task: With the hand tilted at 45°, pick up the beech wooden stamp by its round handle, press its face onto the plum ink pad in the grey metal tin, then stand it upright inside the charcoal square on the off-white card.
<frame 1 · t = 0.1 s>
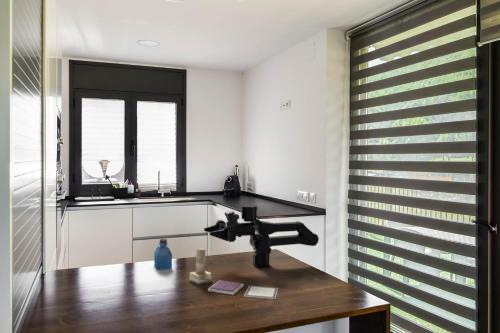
hand: (206, 231, 163), 17 cm above the table, tool horizontal, fingers open, 9 cm apart
ink pad: (226, 288, 142), on the table
marked card: (261, 292, 139), on the table
stamp: (200, 281, 150), on the table
perfume bottle: (162, 267, 167), on the table
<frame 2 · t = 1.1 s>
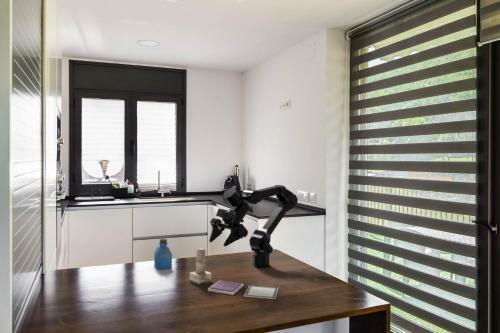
hand: (216, 243, 155), 13 cm above the table, tool tilted 45°, fingers open, 9 cm apart
nothing on the table moved.
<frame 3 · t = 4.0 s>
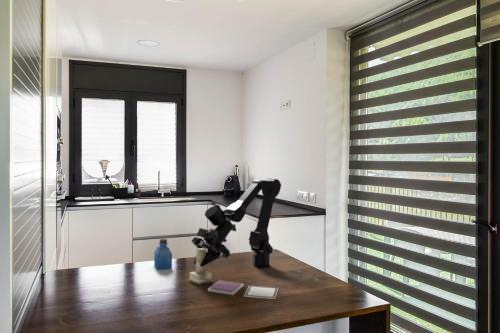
hand: (197, 265, 148), 7 cm above the table, tool tilted 45°, fingers closed on stamp, 4 cm apart
stamp: (200, 281, 150), on the table, touching gripper
everything else where it was.
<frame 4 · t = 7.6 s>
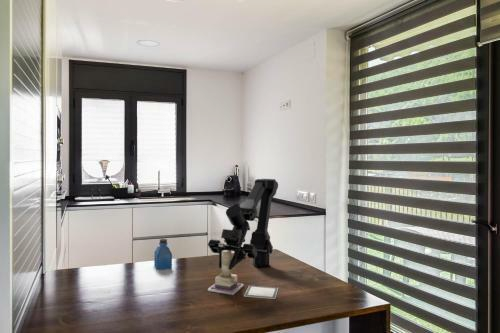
hand: (224, 268, 141), 8 cm above the table, tool tilted 45°, fingers closed on stamp, 4 cm apart
stamp: (226, 285, 142), point 1 cm above the table, touching gripper, ink pad
everything else where it was.
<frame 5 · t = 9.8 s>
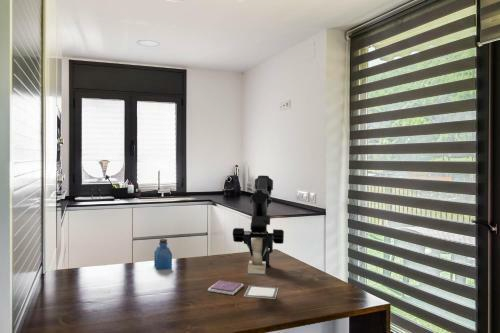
hand: (257, 255, 138), 13 cm above the table, tool tilted 45°, fingers closed on stamp, 4 cm apart
stamp: (256, 272, 139), point 7 cm above the table, touching gripper
everything else where it was.
when the fingers open (8 cm above the table, at t = 11.5 s): stamp drops 1 cm, resting on marked card.
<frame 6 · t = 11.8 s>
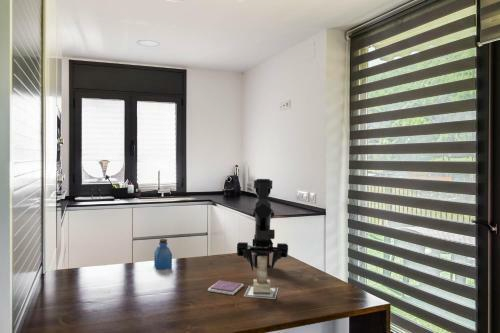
hand: (262, 270, 138), 8 cm above the table, tool tilted 45°, fingers open, 7 cm apart
stamp: (261, 291, 139), resting on marked card
everything else where it was.
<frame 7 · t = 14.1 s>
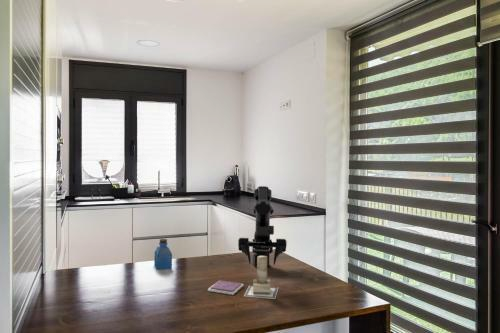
hand: (262, 264, 146), 8 cm above the table, tool tilted 45°, fingers open, 9 cm apart
nothing on the table moved.
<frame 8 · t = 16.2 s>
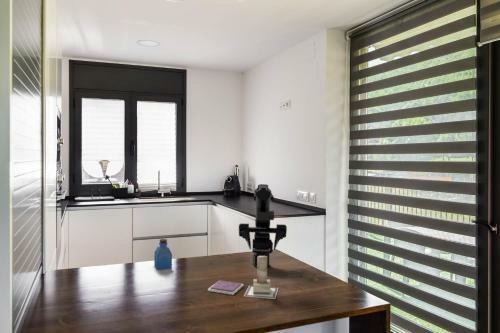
hand: (262, 249, 147), 14 cm above the table, tool tilted 45°, fingers open, 9 cm apart
nothing on the table moved.
at the end: stamp 0.2 cm off-centre on the marked card, point 0.2 cm above the marked card's base; stamp tilted 0°; the gripper is holding nothing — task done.
